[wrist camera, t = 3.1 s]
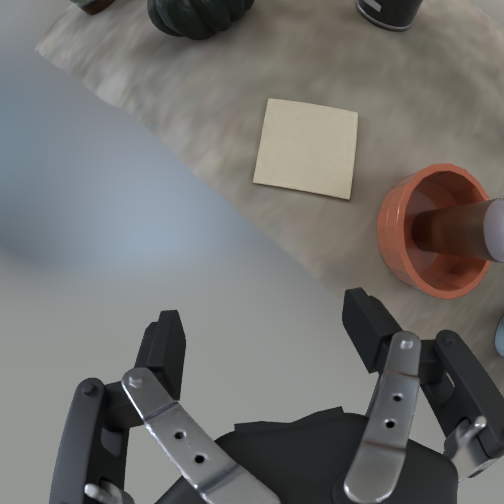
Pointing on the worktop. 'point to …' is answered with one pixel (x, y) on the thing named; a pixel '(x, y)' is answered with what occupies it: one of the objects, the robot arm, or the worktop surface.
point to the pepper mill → (463, 230)
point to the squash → (195, 16)
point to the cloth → (307, 148)
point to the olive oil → (92, 5)
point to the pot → (400, 231)
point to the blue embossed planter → (500, 337)
